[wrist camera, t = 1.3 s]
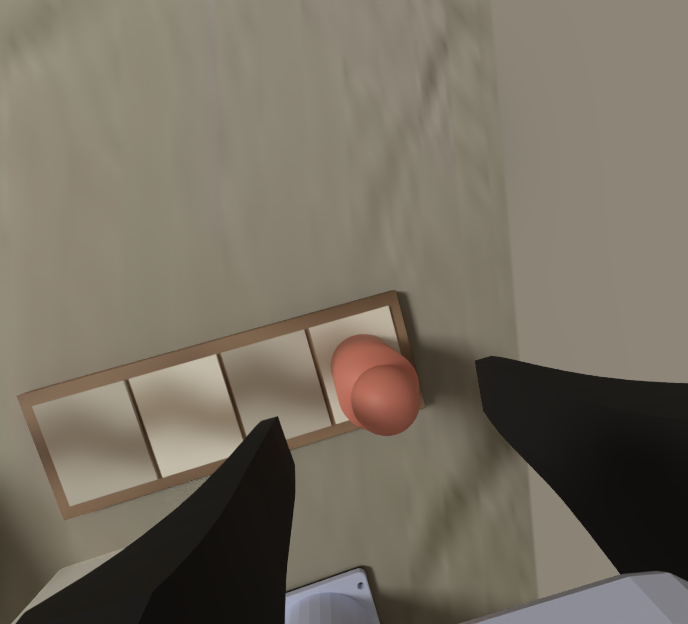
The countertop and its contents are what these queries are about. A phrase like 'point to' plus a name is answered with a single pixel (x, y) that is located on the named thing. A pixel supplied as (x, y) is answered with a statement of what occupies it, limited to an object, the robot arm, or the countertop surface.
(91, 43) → the countertop surface
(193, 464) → the game board
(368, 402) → the salmon lumpy rounded column
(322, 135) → the countertop surface
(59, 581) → the die
